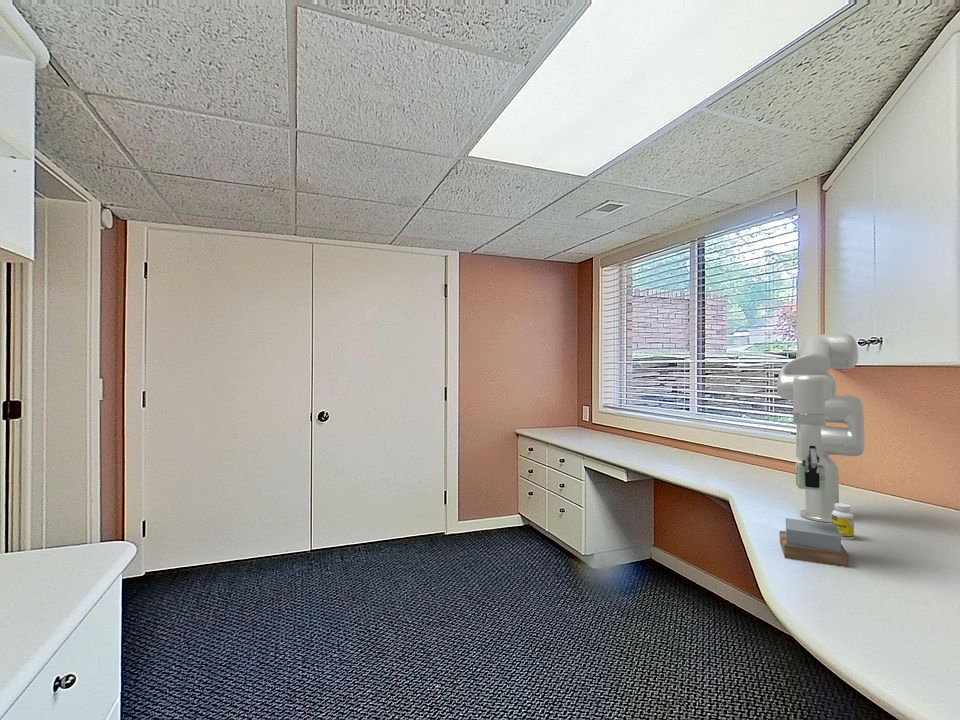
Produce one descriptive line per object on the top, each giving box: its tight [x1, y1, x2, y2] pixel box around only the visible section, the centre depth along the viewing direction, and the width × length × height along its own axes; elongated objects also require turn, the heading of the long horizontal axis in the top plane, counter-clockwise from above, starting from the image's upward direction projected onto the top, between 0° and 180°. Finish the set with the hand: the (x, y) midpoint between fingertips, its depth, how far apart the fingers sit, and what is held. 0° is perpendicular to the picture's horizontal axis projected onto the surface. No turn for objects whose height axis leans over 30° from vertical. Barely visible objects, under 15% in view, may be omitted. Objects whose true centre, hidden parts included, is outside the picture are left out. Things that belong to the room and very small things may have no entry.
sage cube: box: [795, 462, 825, 491], centre depth 136 cm, size 6×6×6 cm
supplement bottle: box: [831, 502, 855, 541], centre depth 150 cm, size 5×5×10 cm
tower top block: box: [785, 517, 842, 552], centre depth 136 cm, size 12×12×4 cm
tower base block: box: [779, 530, 849, 568], centre depth 136 cm, size 14×14×4 cm
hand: (810, 484), depth 136 cm, fingers closed on sage cube, 6 cm apart
